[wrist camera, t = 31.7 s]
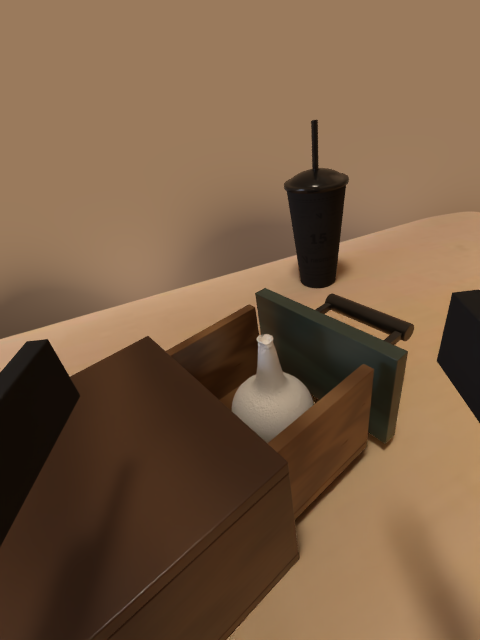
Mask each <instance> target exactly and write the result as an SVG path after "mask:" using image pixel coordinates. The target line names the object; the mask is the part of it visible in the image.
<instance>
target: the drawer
mask: <svg viewBox="0 0 480 640" xmlns="http://www.w3.org/2000/svg"><path fill="white" fill-rule="evenodd" d="M255 295H256V302H257V309H258V316H259V324H260V331H261V336H264V334H269V335H271V336H272V337H273V344H274V346H275V349H276V352H277V355H278V359H279V362H280V366H281V368H282V371H283V372H285V373H287V374H290V375H292V376H294V377H296V378H297V379H299V380H300V381H301V382H302V383H303V384H304V385H305V386H306V387H307V389H308V390H309V392H310V394H311V395H313V396H314V397H316V398H317V399H319V401H318V402H317V403H315V404H314V405H313V406H312V407H311V408H309V409H308V410H307V411H306V412H304V413H303V414H302V415H301V416H300V417H298V418H297V419H296V420H295V421H294V422H292V423H291V424H290V425H289V426H288V427H286V428H285V429H284V430H283V431H282V432H280V433H279V434H278V435H277V436H276V437H274V438H273V439H272V440H271V441H270V442H268V444H269V445H270V446H271V447H272V448H273V449H274V450H275V451H276V452H277V453H279V454H280V455H281V456H282V457H283V458H284V459H285V460H286V461H287V462H288V465H289V475H290V484H291V493H292V501H293V510H294V519H296V518H297V517H298V516H299V515H300V514H301V513H302V512H303V511H304V510H305V509H306V508H307V507H308V506H309V505H310V504H311V503H312V502H313V501H314V500H315V499H316V498H317V497H318V496H319V495H320V494H321V493H322V492H323V491H324V490H325V489H326V488H327V487H328V486H329V484H330V483H331V482H332V481H333V480H334V479H335V478H336V477H337V476H338V475H339V474H340V473H341V472H342V471H343V470H344V469H345V468H346V467H347V466H348V465H349V464H350V463H351V462H352V461H353V460H354V459H355V458H356V457H357V456H358V455H359V454H360V453H361V452H362V451H363V450H364V449H365V448H366V446H367V437H368V433H370V434H371V435H373V436H374V437H376V438H377V439H379V440H380V441H382V442H383V443H385V444H386V443H387V442H388V441H389V440H390V439H391V438H392V437H393V436H394V433H395V427H396V421H397V415H398V409H399V403H400V397H401V391H402V385H403V379H404V373H405V367H406V360H407V354H408V351H406V350H404V349H401V348H399V347H397V346H395V344H396V343H397V342H398V341H399V340H403V341H407V340H408V339H409V338H410V337H411V335H412V333H413V331H414V325H413V324H411V323H408V322H406V321H403V320H400V319H398V318H395V317H393V316H390V315H387V314H385V313H382V312H380V311H377V310H374V309H372V308H369V307H366V306H364V305H361V304H359V303H356V302H353V301H351V300H348V299H346V298H343V297H340V296H338V295H335V294H330V295H329V296H328V297H327V298H326V301H325V304H323V305H322V306H320V307H319V308H317V309H316V310H313V309H311V308H309V307H307V306H304V305H302V304H300V303H298V302H295V301H293V300H291V299H289V298H286V297H284V296H282V295H280V294H277V293H275V292H273V291H271V290H268V289H266V288H264V289H262V290H261V291H259V292H257V293H255ZM329 310H332V311H335V312H337V313H340V314H342V315H344V316H347V317H349V318H351V319H354V320H356V321H358V322H361V323H363V324H365V325H368V326H370V327H372V328H375V329H377V330H380V331H382V332H384V333H387V334H389V336H388V337H387V338H386V339H385V340H381V339H379V338H377V337H374V336H372V335H370V334H368V333H365V332H363V331H361V330H359V329H356V328H354V327H352V326H350V325H347V324H345V323H343V322H341V321H338V320H336V319H334V318H332V317H329V316H327V315H325V313H326V312H328V311H329ZM258 336H259V331H258V324H257V317H256V310H255V307H253V306H251V305H247V306H245V307H244V308H242V309H240V310H238V311H236V312H235V313H233V314H231V315H229V316H228V317H226V318H224V319H222V320H220V321H219V322H217V323H215V324H213V325H212V326H210V327H208V328H206V329H204V330H203V331H201V332H199V333H197V334H196V335H194V336H192V337H190V338H188V339H187V340H185V341H183V342H181V343H180V344H178V345H176V346H174V347H172V348H171V349H169V350H167V351H166V352H167V353H168V354H169V355H170V356H171V357H172V358H173V359H174V360H176V361H177V362H178V363H179V364H180V365H181V366H182V367H183V368H184V369H185V370H187V371H188V372H189V373H190V374H191V375H192V376H193V377H194V378H195V379H197V380H198V381H199V382H200V383H201V384H202V385H203V386H204V387H205V388H207V389H208V390H209V391H210V392H211V393H212V394H213V395H214V396H215V397H217V398H218V399H219V400H220V401H221V402H222V403H223V404H224V405H225V406H226V407H228V408H229V409H230V410H231V411H232V402H233V398H234V395H235V393H236V391H237V390H238V388H239V387H240V386H241V384H243V383H244V382H245V381H246V380H247V379H248V378H250V377H252V376H253V375H256V372H257V361H258V341H257V340H256V339H257V337H258Z"/></svg>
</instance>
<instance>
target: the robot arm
mask: <svg viewBox="0 0 480 640" xmlns="http://www.w3.org/2000/svg"><path fill="white" fill-rule="evenodd" d="M437 362H438V363H439V365H440V366H441V368H442V369H443V371H444V372H445V373H446V375H447V376H448V378H449V379H450V381H451V382H452V384H453V385H454V386H455V388H456V389H457V391H458V392H459V394H460V395H461V397H462V398H463V399H464V401H465V402H466V404H467V405H468V407H469V408H470V410H471V411H472V412H473V414H474V415H475V417H476V418H477V420H478V421H479V423H480V290H472V291H463V292H454V293H452V297H451V301H450V305H449V310H448V314H447V318H446V323H445V327H444V332H443V336H442V340H441V345H440V349H439V354H438V358H437ZM79 398H80V394H79V392H78V391H77V389H76V387H75V385H74V384H73V382H72V380H71V379H70V377H69V375H68V373H67V372H66V370H65V368H64V366H63V365H62V363H61V361H60V360H59V358H58V356H57V354H56V353H55V351H54V349H53V347H52V346H51V344H50V342H49V341H48V339H45V340H37V341H28V342H26V343H25V344H24V345H23V347H22V348H21V349H20V350H19V351H18V352H17V354H16V355H15V356H14V357H13V358H12V359H11V361H10V362H9V363H8V364H7V365H6V367H5V368H4V369H3V370H2V371H1V372H0V547H1V545H2V543H3V541H4V539H5V537H6V535H7V533H8V531H9V530H10V528H11V526H12V524H13V522H14V520H15V518H16V516H17V514H18V513H19V511H20V509H21V507H22V505H23V503H24V501H25V499H26V497H27V496H28V494H29V492H30V490H31V488H32V486H33V484H34V482H35V481H36V479H37V477H38V475H39V473H40V471H41V469H42V467H43V465H44V464H45V462H46V460H47V458H48V456H49V454H50V452H51V450H52V448H53V447H54V445H55V443H56V441H57V439H58V437H59V435H60V433H61V431H62V430H63V428H64V426H65V424H66V422H67V420H68V418H69V416H70V415H71V413H72V411H73V409H74V407H75V405H76V403H77V401H78V399H79Z"/></svg>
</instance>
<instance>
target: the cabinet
mask: <svg viewBox="0 0 480 640" xmlns="http://www.w3.org/2000/svg"><path fill="white" fill-rule="evenodd" d="M70 379H71V380H72V382H73V384H74V385H75V387H76V389H77V391H78V392H79V394H80V398H79V399H78V401H77V403H76V405H75V407H74V409H73V411H72V413H71V415H70V416H69V418H68V420H67V422H66V424H65V426H64V428H63V430H62V431H61V433H60V435H59V437H58V439H57V441H56V443H55V445H54V447H53V448H52V450H51V452H50V454H49V456H48V458H47V460H46V462H45V464H44V465H43V467H42V469H41V471H40V473H39V475H38V477H37V479H36V481H35V482H34V484H33V486H32V488H31V490H30V492H29V494H28V496H27V497H26V499H25V501H24V503H23V505H22V507H21V509H20V511H19V513H18V514H17V516H16V518H15V520H14V522H13V524H12V526H11V528H10V530H9V531H8V533H7V535H6V537H5V539H4V541H3V543H2V545H1V547H0V640H226V639H227V637H228V636H229V635H230V634H231V633H232V632H233V631H234V630H235V629H236V628H237V626H238V625H239V624H240V623H241V622H242V621H243V620H244V619H245V618H246V617H247V615H248V614H249V613H250V612H251V611H252V610H253V609H254V608H255V607H256V606H257V604H258V603H259V602H260V601H261V600H262V599H263V598H264V597H265V596H266V594H267V593H268V592H269V591H270V590H271V589H272V588H273V587H274V586H275V585H276V583H277V582H278V581H279V580H280V579H281V578H282V577H283V576H284V575H285V574H286V572H287V571H288V570H289V569H290V568H291V567H292V566H293V565H294V564H295V563H296V561H297V560H298V559H299V552H298V545H297V536H296V528H295V519H294V510H293V501H292V493H291V484H290V475H289V465H288V462H287V461H286V460H285V459H284V458H283V457H282V456H281V455H280V454H279V453H277V452H276V451H275V450H274V449H273V448H272V447H271V446H270V445H269V444H268V443H266V442H265V441H264V440H263V439H262V438H261V437H260V436H259V435H258V434H256V433H255V432H254V431H253V430H252V429H251V428H250V427H249V426H248V425H246V424H245V423H244V422H243V421H242V420H241V419H240V418H239V417H238V416H236V415H235V414H234V413H233V412H232V411H231V410H230V409H229V408H228V407H226V406H225V405H224V404H223V403H222V402H221V401H220V400H219V399H218V398H217V397H215V396H214V395H213V394H212V393H211V392H210V391H209V390H208V389H207V388H205V387H204V386H203V385H202V384H201V383H200V382H199V381H198V380H197V379H195V378H194V377H193V376H192V375H191V374H190V373H189V372H188V371H187V370H185V369H184V368H183V367H182V366H181V365H180V364H179V363H178V362H177V361H176V360H174V359H173V358H172V357H171V356H170V355H169V354H168V353H167V352H166V351H164V350H163V349H162V348H161V347H160V346H159V345H158V344H157V343H156V342H154V341H153V340H152V339H151V338H150V337H149V336H147V337H145V338H143V339H141V340H139V341H137V342H135V343H133V344H132V345H130V346H128V347H126V348H124V349H122V350H120V351H118V352H116V353H114V354H112V355H111V356H109V357H107V358H105V359H103V360H101V361H99V362H97V363H95V364H93V365H92V366H90V367H88V368H86V369H84V370H82V371H80V372H78V373H76V374H74V375H72V376H71V377H70Z"/></svg>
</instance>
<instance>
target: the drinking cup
mask: <svg viewBox="0 0 480 640" xmlns="http://www.w3.org/2000/svg"><path fill="white" fill-rule="evenodd" d="M317 121H318V120H312V121H311V124H312V125H311V127H312V167H313V169H310V170H307V171H303V172H301V173H299V174H297V175H296V176H294V177H293V178H291V179H289V180H288V181H286V182H285V183H284V189H285V190H286V191H287V195H288V201H289V208H290V214H291V220H292V227H293V232H294V239H295V246H296V252H297V259H298V265H299V271H300V278H301V282H302V284H304V285H305V286H308V287H312V288H322V287H326V286H329V285H331V284H333V283H334V282H335V279H336V270H337V261H338V252H339V243H340V233H341V225H342V216H343V206H344V198H345V188H346V184H348V181H349V178H348V176H347V175H345V174H343V173H339V172H337V171H335V170H332V169H325V168H318V124H317V123H318V122H317Z"/></svg>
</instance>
